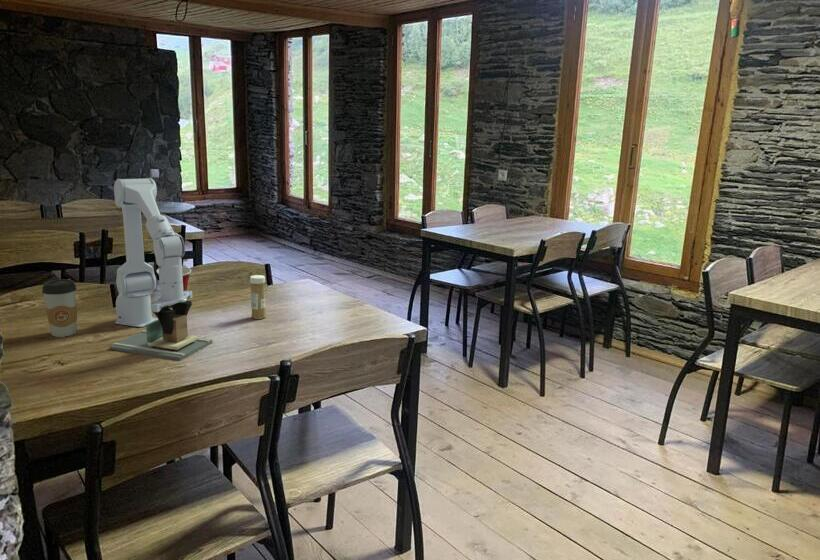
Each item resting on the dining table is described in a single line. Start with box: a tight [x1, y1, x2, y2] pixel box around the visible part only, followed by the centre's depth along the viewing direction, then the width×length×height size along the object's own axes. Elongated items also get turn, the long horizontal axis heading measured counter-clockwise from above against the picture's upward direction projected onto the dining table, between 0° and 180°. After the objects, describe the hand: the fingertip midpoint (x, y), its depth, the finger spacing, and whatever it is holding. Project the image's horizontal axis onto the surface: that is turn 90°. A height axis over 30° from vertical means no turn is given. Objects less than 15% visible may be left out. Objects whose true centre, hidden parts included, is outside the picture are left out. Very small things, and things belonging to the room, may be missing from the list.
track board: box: [109, 330, 213, 361], centre depth 165 cm, size 22×14×1 cm, turn 74°
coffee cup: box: [41, 278, 78, 338], centre depth 170 cm, size 8×8×15 cm
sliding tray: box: [145, 319, 199, 351], centre depth 163 cm, size 9×9×6 cm
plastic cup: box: [156, 265, 192, 291], centre depth 201 cm, size 11×11×12 cm
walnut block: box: [162, 314, 189, 342], centre depth 162 cm, size 4×4×6 cm
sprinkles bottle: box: [249, 274, 267, 320], centre depth 190 cm, size 5×5×14 cm
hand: (174, 330), depth 163 cm, fingers open, 5 cm apart
